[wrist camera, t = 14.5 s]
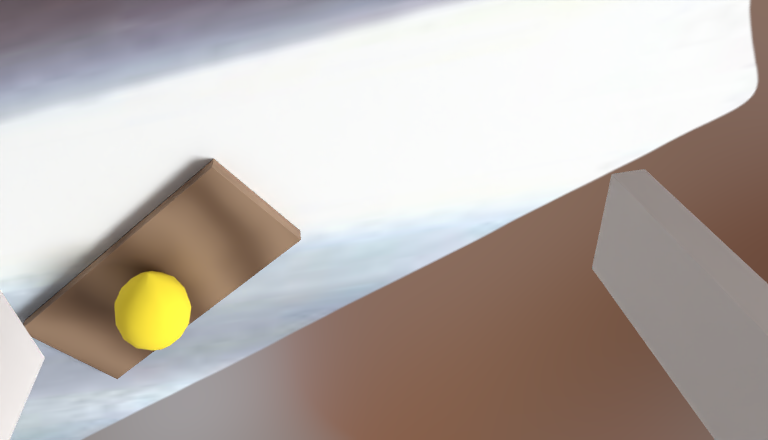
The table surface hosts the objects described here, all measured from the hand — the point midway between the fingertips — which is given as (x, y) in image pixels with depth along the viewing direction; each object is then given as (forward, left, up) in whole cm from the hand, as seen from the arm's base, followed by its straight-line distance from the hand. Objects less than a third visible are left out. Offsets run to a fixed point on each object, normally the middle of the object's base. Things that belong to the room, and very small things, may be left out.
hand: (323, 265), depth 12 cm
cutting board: (-14, -21, -27) cm, 37 cm away
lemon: (-14, -21, -26) cm, 36 cm away
